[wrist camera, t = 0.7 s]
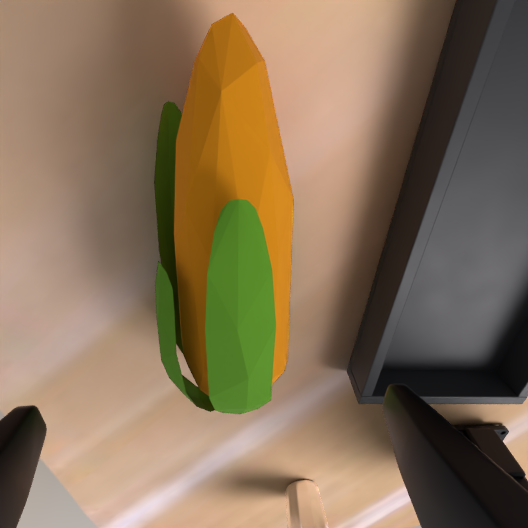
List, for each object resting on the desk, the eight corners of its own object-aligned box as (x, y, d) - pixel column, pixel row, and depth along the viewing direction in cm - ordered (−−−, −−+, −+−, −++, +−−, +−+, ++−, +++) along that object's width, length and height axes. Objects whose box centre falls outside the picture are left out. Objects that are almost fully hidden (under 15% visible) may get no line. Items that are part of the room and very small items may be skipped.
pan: (496, 373, 28) (522, 404, 25) (346, 371, 27) (358, 404, 24) (721, -4, 16) (816, -18, 13) (468, -43, 15) (518, -66, 12)
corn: (164, 467, 18) (60, -16, 8) (176, 360, 25) (126, 19, 15) (302, 450, 19) (359, -1, 9) (278, 351, 26) (296, 26, 16)
